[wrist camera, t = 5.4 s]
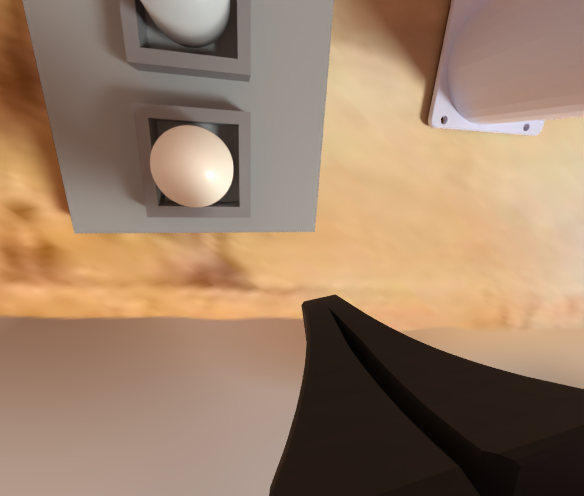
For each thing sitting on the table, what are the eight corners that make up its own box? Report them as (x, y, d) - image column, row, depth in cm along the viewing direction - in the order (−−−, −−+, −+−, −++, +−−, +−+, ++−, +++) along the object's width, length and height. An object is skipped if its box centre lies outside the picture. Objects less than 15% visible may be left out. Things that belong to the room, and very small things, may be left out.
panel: (340, -239, 13) (377, -372, 9) (307, 224, 20) (321, 238, 17) (-28, -372, 10) (-157, -627, 7) (91, 224, 17) (58, 241, 14)
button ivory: (232, 131, 15) (232, 128, 12) (234, 197, 16) (234, 207, 13) (162, 127, 14) (145, 122, 11) (169, 196, 15) (154, 206, 13)
